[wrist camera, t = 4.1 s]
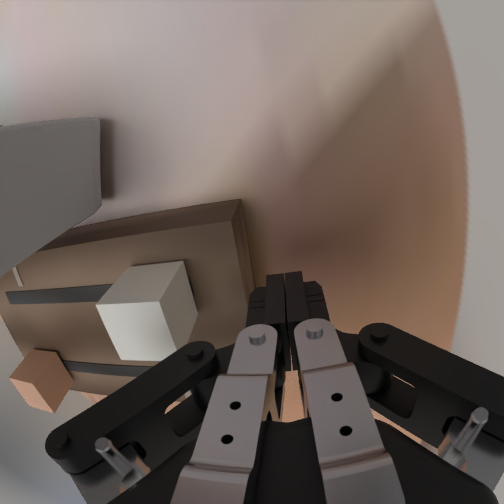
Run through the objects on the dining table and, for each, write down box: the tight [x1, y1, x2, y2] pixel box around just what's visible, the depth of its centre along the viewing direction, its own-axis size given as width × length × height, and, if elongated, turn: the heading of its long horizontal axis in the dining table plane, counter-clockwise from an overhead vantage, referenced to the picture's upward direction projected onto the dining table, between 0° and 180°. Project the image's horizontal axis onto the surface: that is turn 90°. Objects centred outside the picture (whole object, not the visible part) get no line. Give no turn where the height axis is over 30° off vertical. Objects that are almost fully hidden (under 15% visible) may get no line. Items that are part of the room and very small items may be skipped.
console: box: [0, 199, 255, 402], centre depth 19 cm, size 12×20×4 cm, turn 99°
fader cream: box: [96, 261, 198, 361], centre depth 13 cm, size 3×3×4 cm
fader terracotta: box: [9, 349, 74, 413], centre depth 17 cm, size 3×3×4 cm
